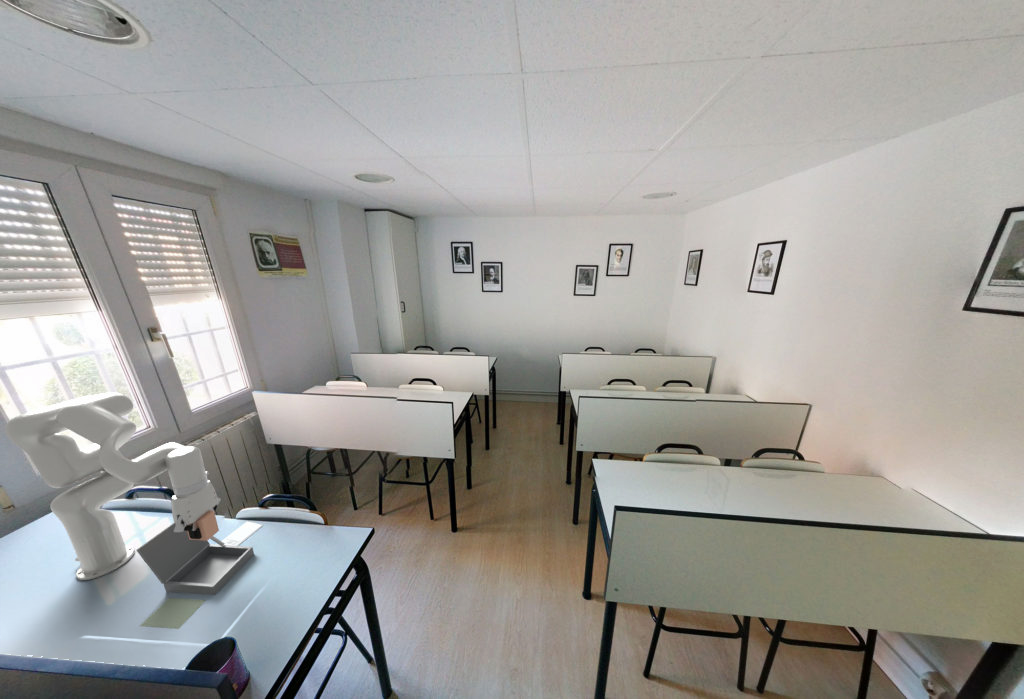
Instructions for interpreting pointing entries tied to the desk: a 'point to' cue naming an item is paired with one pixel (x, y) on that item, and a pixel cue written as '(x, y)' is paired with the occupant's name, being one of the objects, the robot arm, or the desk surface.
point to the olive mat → (173, 613)
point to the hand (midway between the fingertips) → (203, 531)
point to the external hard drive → (241, 534)
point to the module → (207, 526)
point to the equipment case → (192, 562)
